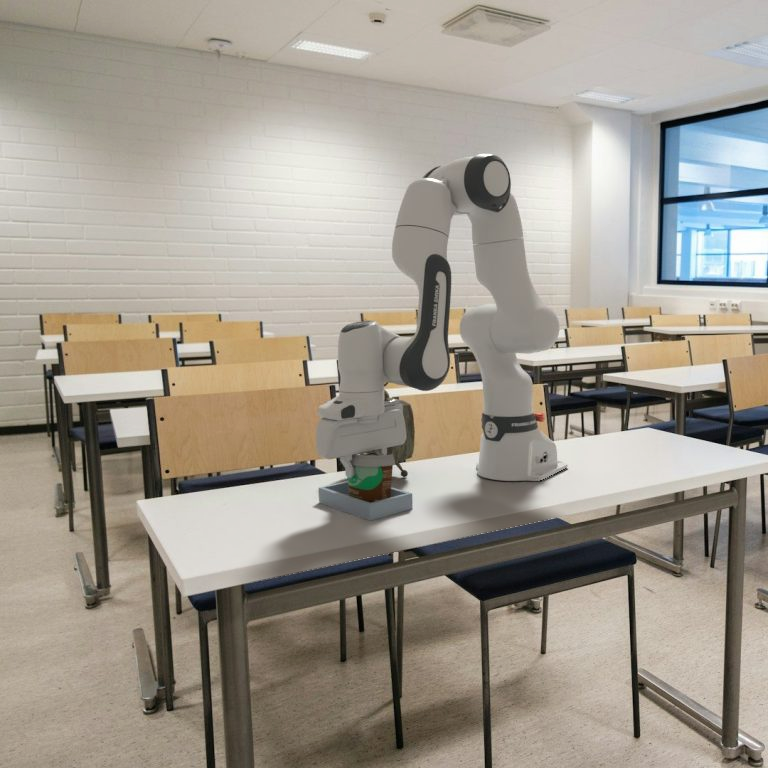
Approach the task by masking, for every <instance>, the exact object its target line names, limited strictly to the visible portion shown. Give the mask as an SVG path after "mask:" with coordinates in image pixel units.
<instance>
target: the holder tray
mask: <svg viewBox="0 0 768 768" xmlns="http://www.w3.org/2000/svg"><path fill="white" fill-rule="evenodd" d="M318 502H319V503H320V504H322V505H325V506H327V505H328V507H331V508H334V509H336V510H339V511H342V512H345V513H347V514H351V515H352V516H355V517H359V518H361V519H363V520H367V521H370V522H371V521H374V520H378V519H383V518H386V517H390V516H393V515H395V514H398V513H403V512H406V511H409V510H413V507H414V506H413V492H410V491H406V490H402V489H398V488H395V487H392V486H391V494H390V498H387V499H383V500H379V501H375V502H372V503H369V502H366V501H363V500H360V499H357V498H354V497H351V496H349V490H348V480H346V481H341V482H336V483H332V484H328V485H323V486H320V487H318Z"/></svg>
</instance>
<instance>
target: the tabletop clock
mask: <svg viewBox="0 0 768 768" xmlns="http://www.w3.org/2000/svg"><path fill="white" fill-rule="evenodd" d="M388 384H389V382H385V383H384V388H385V387H387V385H388ZM391 400H397V401H398V402H400V403H401V405H402V406H403V416H404V420H405V427H406V441H405V443H404V444H402V445H397V446H392V447H387V454H386V455H391V454H393V458H394V459H395V465H394V466H396V468H398V469H399V471H400V476H401V477H403V478H406V477H408V473H409V472H408V471H407V470H405V469H403V467H402V465H401V463H400V462H401V461H405V460H408V459H411V458H413V455H414V451H415V433H416V432H415V418H414V412H413V408H412V405H411V404H410V403H409V402H407V401H406V400H403V399H399V398H393V397H390V394H389V392H388V391H387V390H386V389H384V401H391ZM397 404H398V403H397ZM390 406H391V405H390ZM363 453H375V454H377V452H375V450H373V451H368V452H363Z"/></svg>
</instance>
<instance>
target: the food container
mask: <svg viewBox="0 0 768 768" xmlns="http://www.w3.org/2000/svg"><path fill="white" fill-rule="evenodd" d="M350 463H351V465H352V467H354V468H356V476H355V477H351V478H349V477H347V476H346V477H347V481H348V490H349V496H351V497H354V498H357V499H360V500H363V501H366V502H369V503H372V502H375V501H379V500H383V499H387V498H390V494H391V487H392V480H393V479H392V478H393V466H396V465H395V459H394V458H393V454H391V455H377V454H375V453H359V454H354V455H352V460H351V461H350Z"/></svg>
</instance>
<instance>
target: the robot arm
mask: <svg viewBox="0 0 768 768" xmlns="http://www.w3.org/2000/svg"><path fill="white" fill-rule="evenodd" d="M510 174H511V173H510V171H509V169H508V166H507V165H506V163H505V162H504V160H503V159H502V158H501V157H500V156H498V155H495V154H491V153H480V154H476V155H474V156H467V157H462V158H458V159H455V160H452V161H451V162H448V163H446V164H443V165H439V166H436V167H433V168H432V169H430V170H429V171H428V172H426V173H425V174H424V175H423V176H422V178H418V179H415V180H413V181H412V182H411V183H410V184H409V185H408V186H407V189H406V190H405V193H404V196H403V197H402V200H401V204H400V206H399V210H398V213H397V218H396V223H395V227H394V231H393V236H392V243H391V256H392V257H391V258H392V260H393V263H394V264H395V266H396V267H397V268H398V270H399V271H400V272H402V274H404V275H406V276H407V277H409V279H411V280H413V282H415V284H416V286H417V289H418V306H417V307H418V308H417V316H416V317H417V320H416V328H415V329H416V330H415V333H414V335H412V336H411V337H410V336H400V335H399V334H396V333H394V332H391V331H389V330H387V329H386V328H384V327H383V326H382V325H380V324H379V322H378V321H375V320H363V321H356V322H352V323H349V324H347V325H345V326H344V327H343V328H342V329H341V330H340V333H339V336H338V340H337V341H338V342H337V343H338V344H337V369H338V371H339V377H340V381H339V382H340V383H339V387H338V395H337V396H335V397H333V398H332V399H330V400H329V401H327V402H324V403H323V404H321V405H319V406H318V407H317V415H318V417H320V418H321V419H319V421H318V423H317V424H316V431H315V432H316V435H315V436H316V437H315V442H316V443H315V446H316V453H317V454H318V456H319V457H320V458H323V459H326V460H334V459H338V458H339V461H340V462H341V464H342V466H343V467H344V469H345V473H344V474H345V477H349V478H351V477H355V476H356V468H354V467H352V465H351V463H350V461H351V460H352V455H354V454H359V453H363V452H368V451H373V450H375V452H377V455H386V454H387V447H392V446H397V445H402V444H404V443H405V441H406V427H405V420H404V416H403V406H402V405H401V403H400V402H398V401H397V400H391V401H384V390H385V387H384V384H385V383H386V382H389V383H390V384H395V385H398V386H406V387H409V388H412V389H415V390H419V391H423V392H426V391H432V390H434V389H436V388H438V387H439V386H440V385H441V384H442V383H443V382H444V381H445V379H446V378H447V376H448V375H449V374H448V373H449V370H450V365H451V356H450V347H449V325H450V311H451V299H452V298H451V297H452V296H451V295H452V269H451V265H450V263H449V261H448V243H449V238H450V230H451V225H452V219H453V217H454V216H460V215H461V216H462V215H467V217H468V220H470V224H471V238H472V239H471V240H472V248H473V249H472V250H473V258H474V267H475V273H476V275H475V276H476V279H477V281H478V282H479V283H480V284H481V285H482V286H483V287H484V288H486V290H487V291H489V293H490V294H491V296H492V298H493V300H494V302H495V303H486V304H485V303H484V304H481V305H478V306H474V307H472V308H468V309H467V310H466V311H465V312H464V313H463V315H462V316H461V319H460V323H459V335H460V337H461V339H462V342H463V343H464V344H465V345H466V346H467V347H468V348H469V349H470V351H471V352H472V354H473V356H474V358H475V360H476V363H477V366H478V368H479V369H478V370H479V371H480V377H481V381H482V382H481V383H482V396H483V397H482V399H483V412H482V413H481V419H480V421H481V422H480V423H481V429H482V430H483V431H482V434H481V436H480V443H479V444H480V445H479V455H478V462H476V466H475V467H476V469H477V470H476V474H477V475H478V476H479V477H481V478H484V479H489V480H495V481H504V482H505V481H506V482H509V481H510V482H518V481H519V482H520V481H521V482H522V481H529V482H530V481H531V482H541V481H540V480H542V481H544V480H546V479H548V478H550V477H552V476H554V475H553V474H555V473H557V472H559V471H561V470H563V469H565V468H567V467H569V466H568V463H566V462H563V461H561V460H558V449H557V446H556V443H555V442H554V441H553V440H552V439H550V437H548V436H547V435H546V434H544V432H543V431H541V430H540V429H539V424H538V422H539V423H543V422H545V419H546V417H545V416H546V415H545V413H541V412H535V413H534V411H533V405H534V403H533V391H534V390H533V389H534V388H533V380H532V378H531V375H530V374H528V373H527V372H526V370H524V369H523V368H522V366H521V364H520V362H519V361H518V358H517V354H523V355H524V354H526V355H527V354H529V355H530V354H534V353H535V354H536V353H541V352H544V351H548V350H549V349H551V348H552V347H553V346H554V345H555V343H556V342H557V341H558V337H559V334H560V322H559V318H558V316H557V314H556V312H555V311H554V310H553V309H552V308H550V307H549V305H547V304H546V303H545V302H544V301H543V300H542V299H541V298H540V295H539V294H538V293H537V291H536V288H535V287H534V285H533V283H532V279H531V278H530V274H529V269H528V265H527V263H528V262H527V257H526V250H525V238H524V230H523V225H522V221H521V214H520V211H519V207H518V204H517V201H516V197H515V195H513V194H512V192H511V189H512V187H511V185H512V182H511V181H512V180H511V175H510ZM389 383H388V384H389ZM397 403H398V404H397ZM390 405H391V406H390ZM567 469H568V468H567ZM565 470H566V469H565ZM563 471H564V470H563ZM561 472H562V471H561ZM559 473H560V472H559ZM557 474H558V473H557ZM551 475H552V476H551ZM555 475H556V474H555ZM549 476H550V477H549ZM547 477H548V478H547ZM545 478H546V479H545ZM543 479H544V480H543Z"/></svg>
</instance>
